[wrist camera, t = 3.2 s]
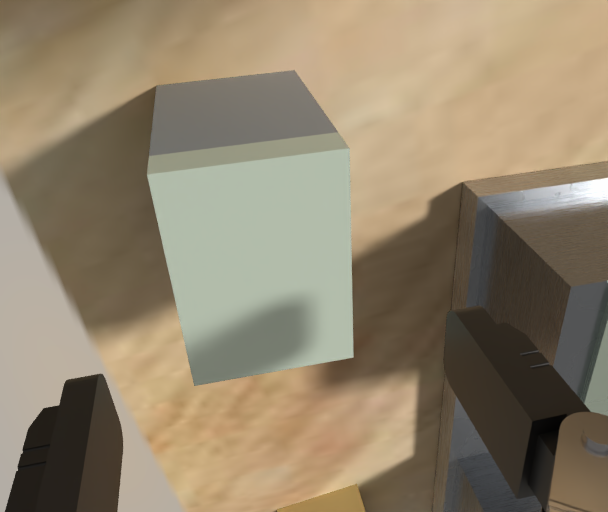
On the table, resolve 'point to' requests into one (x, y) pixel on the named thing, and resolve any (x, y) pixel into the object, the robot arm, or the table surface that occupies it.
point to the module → (253, 224)
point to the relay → (331, 502)
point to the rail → (528, 305)
